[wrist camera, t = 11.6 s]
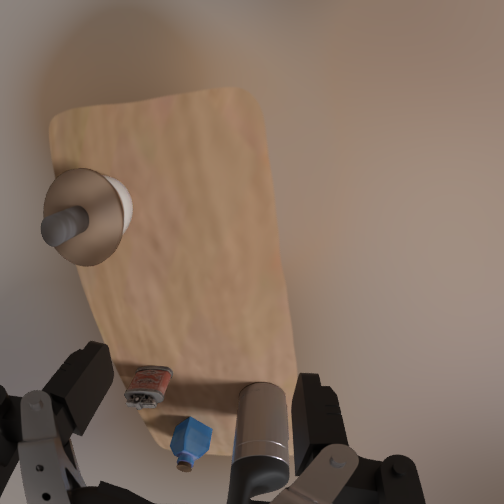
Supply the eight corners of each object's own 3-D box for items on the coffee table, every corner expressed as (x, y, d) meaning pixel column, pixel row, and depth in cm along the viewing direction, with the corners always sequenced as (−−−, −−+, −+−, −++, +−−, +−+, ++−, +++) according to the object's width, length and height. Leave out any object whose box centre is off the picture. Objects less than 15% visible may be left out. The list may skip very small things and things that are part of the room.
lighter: (140, 378, 56) (124, 412, 46) (134, 366, 54) (116, 399, 45) (175, 377, 55) (162, 413, 45) (169, 364, 54) (154, 400, 44)
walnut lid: (143, 229, 35) (118, 246, 29) (82, 280, 38) (56, 301, 32) (88, 147, 32) (55, 149, 26) (35, 208, 35) (3, 219, 28)
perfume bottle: (190, 416, 58) (179, 458, 47) (212, 429, 60) (204, 470, 48) (175, 426, 60) (163, 465, 49) (197, 438, 61) (188, 477, 50)
